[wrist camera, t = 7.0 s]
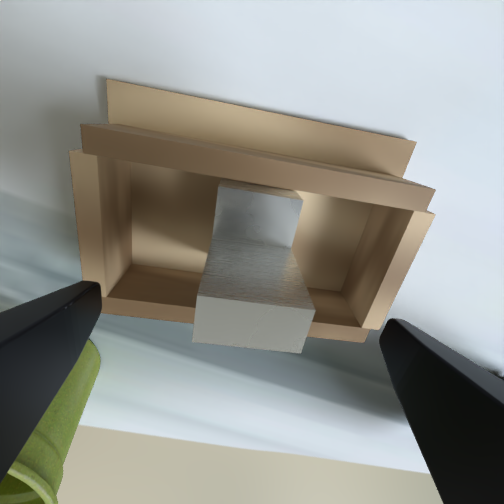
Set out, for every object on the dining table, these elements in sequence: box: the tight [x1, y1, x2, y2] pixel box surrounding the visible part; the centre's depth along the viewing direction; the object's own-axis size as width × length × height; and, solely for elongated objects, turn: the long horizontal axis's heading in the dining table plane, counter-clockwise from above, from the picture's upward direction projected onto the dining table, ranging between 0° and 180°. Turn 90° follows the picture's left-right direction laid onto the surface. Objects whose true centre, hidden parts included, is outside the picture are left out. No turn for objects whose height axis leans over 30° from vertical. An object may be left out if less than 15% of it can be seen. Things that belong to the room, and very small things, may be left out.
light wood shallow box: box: [69, 79, 436, 343], centre depth 14 cm, size 12×15×4 cm
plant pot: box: [0, 339, 100, 504], centre depth 16 cm, size 9×9×9 cm
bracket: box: [192, 178, 316, 354], centre depth 12 cm, size 4×4×7 cm
